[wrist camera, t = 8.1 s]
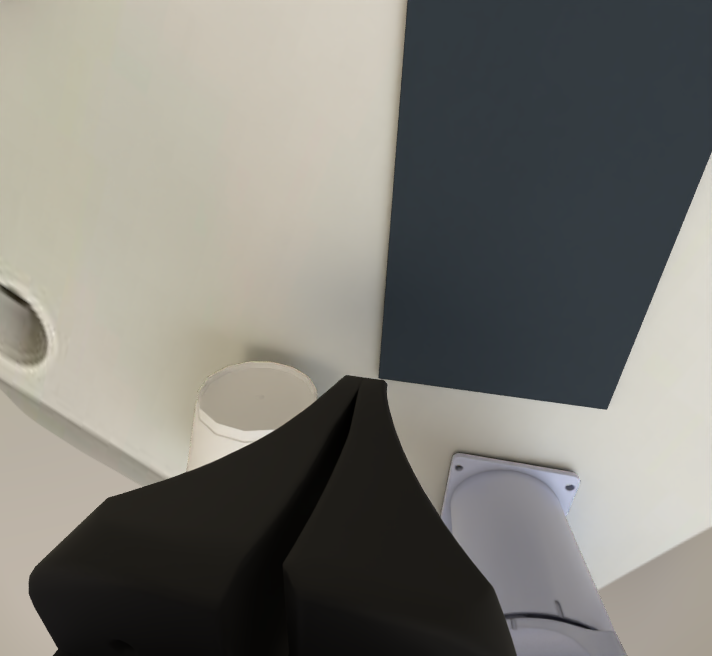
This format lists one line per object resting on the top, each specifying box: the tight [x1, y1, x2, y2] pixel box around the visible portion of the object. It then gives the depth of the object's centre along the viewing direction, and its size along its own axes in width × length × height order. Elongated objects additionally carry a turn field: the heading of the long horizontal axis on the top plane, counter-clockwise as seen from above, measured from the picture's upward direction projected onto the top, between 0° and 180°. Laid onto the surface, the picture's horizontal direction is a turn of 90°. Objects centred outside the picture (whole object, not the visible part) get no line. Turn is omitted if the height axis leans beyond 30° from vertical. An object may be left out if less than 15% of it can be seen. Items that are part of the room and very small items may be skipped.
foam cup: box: [186, 361, 317, 472], centre depth 21 cm, size 10×9×13 cm
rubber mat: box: [379, 0, 712, 410], centre depth 17 cm, size 20×14×1 cm
